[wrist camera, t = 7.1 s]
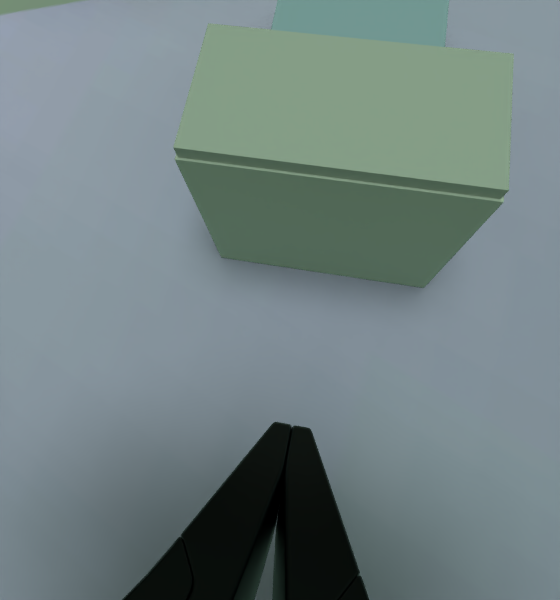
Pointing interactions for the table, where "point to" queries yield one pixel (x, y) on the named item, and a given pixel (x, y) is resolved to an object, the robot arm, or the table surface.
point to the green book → (345, 150)
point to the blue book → (367, 19)
